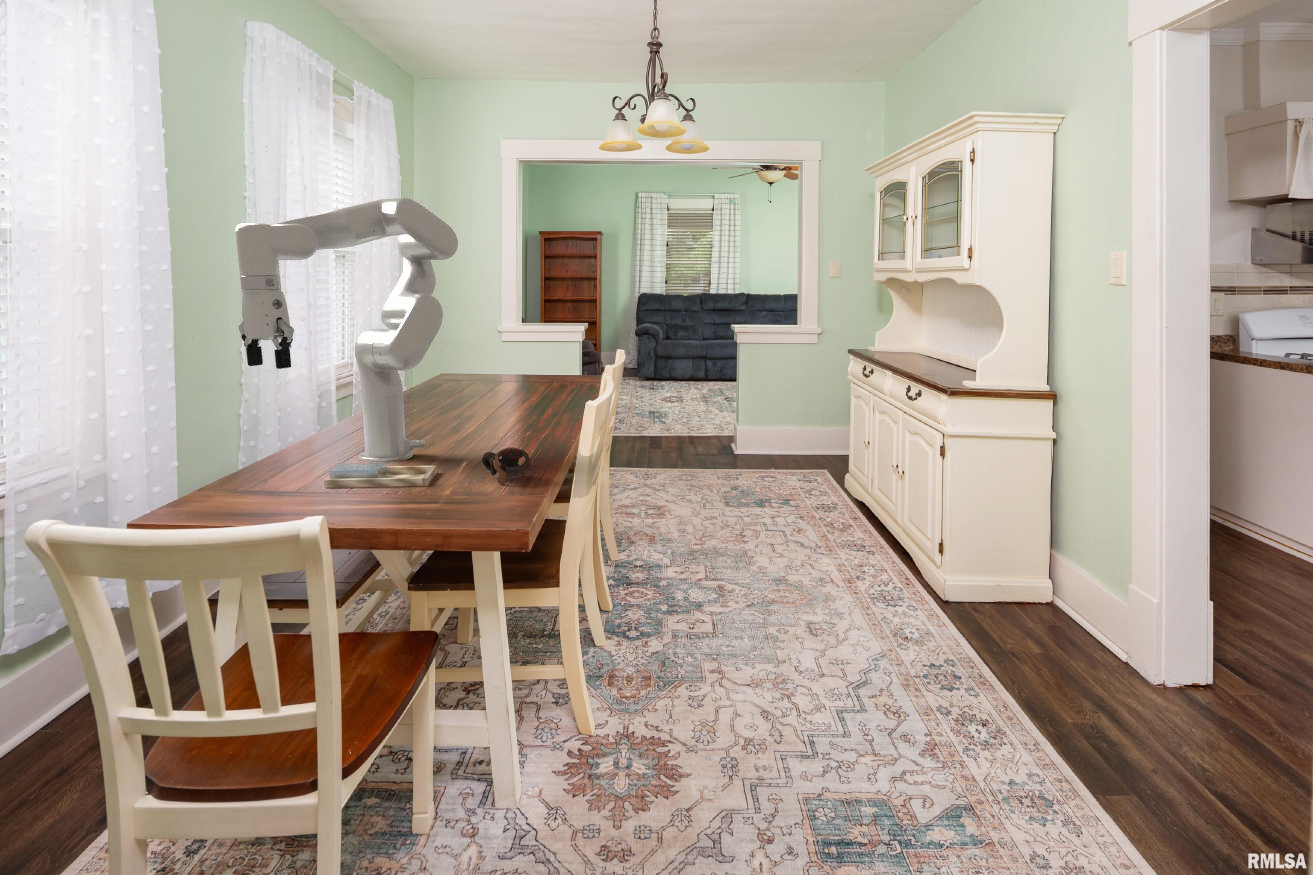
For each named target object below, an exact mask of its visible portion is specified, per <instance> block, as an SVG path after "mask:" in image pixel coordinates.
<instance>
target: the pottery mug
mask: <svg viewBox="0 0 1313 875" xmlns="http://www.w3.org/2000/svg"><path fill="white" fill-rule="evenodd" d="M523 457H524V459H525V460H524V462H523V463H522V464H519V462H520V461H519V460H520V459H522V458H523ZM481 462H482V464H483V466H484V467H485V469H487V470H488V471H490V472H489V473H490V475H491V476H496V475H497V473H498V475H497V478H496V480H497V483H498V484H500V485H502V486H504V485H505V483H506V482H510V481H513V480H517V479H519V478H523V477H524V476H525V475H526V474H528V473H529V472H530V471H533V470H534V468H533V466H532V463H530V462H531V459H530V456H529V454H528V452H526V451H525V450H524V449H522V448H518V447H514V446H512V447H509V446H508V447H506V448H505V447H504V448H502V449H500V450H499V451H498V452H496V453H495V452H493V451H487V452H484V454H482V457H481Z"/></svg>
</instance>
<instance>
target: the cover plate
mask: <svg viewBox="0 0 1313 875" xmlns="http://www.w3.org/2000/svg"><path fill="white" fill-rule="evenodd" d="M386 466H387V463H386V462H356V463H355V462H353V463H352V462H351V463H347V462H345V463H338V464H336V465H335V466H334V467H332V468H331V469H330V470H329V479H353V478H385V477H386Z"/></svg>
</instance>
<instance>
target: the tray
mask: <svg viewBox="0 0 1313 875" xmlns="http://www.w3.org/2000/svg"><path fill="white" fill-rule="evenodd" d="M437 466H438V465H396V466H395V465H394V466H393V465H391V466H390V465H389V466H387V465H386V477H385V478H353V479H330V478H324V480H323V484H324V485H323V487H324V489H331V488H332V489H334V488H335V489H336V488H379V487H380V488H381V487H384V488H386V487H389V488H391V487H394V488H395V487H428V486H429V485H430V483H431V481H432V480H433V478H434V477H435V476H436V475H437V472H438V469H437Z"/></svg>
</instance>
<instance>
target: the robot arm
mask: <svg viewBox="0 0 1313 875" xmlns="http://www.w3.org/2000/svg"><path fill="white" fill-rule="evenodd" d="M455 232H456V231H454V229H453V228H452V226H450V225H449V224H448V223H447V222H445V221H443V219H441V218H440V217H439V216H437V215H435V214H434V213H433V212H431V211H430V210H429V209H427V208H426V207H425V206H423V205H422V204H420V203H418V202H417V201H416V200H413V199H411V198H408V197H398V198H397V197H395V198H382V199H377V200H373V201H368V202H364V203H359V204H355V205H352V206H347V207H341V208H339V209H338V208H337V209H333V210H328V211H325V212H321V213H317V214H313V215H308V216H304V217H298V218H293V219H290V220H285V221H280V222H277V223H271V224H267V223H253V222H252V223H240V224H238V225H236V226H235V241H236V242H235V243H236V251H237V259H238V260H237V261H238V271H239V279H240V290H241V293H242V295H241V314H242V315H241V317H242V321H241V323H240V324H239V325H238V330H239V333H240V335H241V336H240V337H241V339H242V341H243V346H244V348H245V352H246V361H247V362H246V363H247V366H248V367H255V366H262V365H263V364H264V362H263V361H264V360H263V351H262V346H261V345H260V343H261V341H262V340H264V341H271V342H272V343H273V345H274V347H275V348H276V349H274V360H275V369H277V370H281V369H289V368H292V359H291V358H292V357H291V348H292V343H293V342H294V338H293V337H294V333H295V329H294V327H293V326H291V324H290V323H291V322H290V321H291V320H290V317H289V316H290V315H289V311H288V310H289V309H288V306H287V301H286V297H285V294H284V292H283V291H282V283H281V281H282V280H281V272H280V263H279V261H302V260H307V259H310V258H311V257H313V256H314V255H315V254H316V252H317V251H321V250H336V249H337V250H338V249H345V248H351V247H356V246H359V245H363V244H365V243H369V242H372V241H377V240H378V241H379V240H381V239H384V238H388V237H392V236H397V237H398V238H397V248H398V251H399V254H400V258H401V262H402V272H401V275H400V277H399V278H398V281H397V283H396V285H395V286H394V288H393V289H392V291H391V293H390V295H389V296H388V298H387V300H386V301H385V303H383V304H384V305H383V306H382V309H381V312H380V318H381V321H382V324H383V325H384V326H385V327H386V328H371V329H367V330H365V331H363V332H362V333H360V334H359V336H358V337H357V338H356V340H355V343H354V357H355V360H356V364H357V368H358V373H359V377H360V378H359V379H360V388H361V389H360V390H361V404H362V408H361V409H362V418H363V419H362V420H363V421H362V423H363V437H364V450H365V451H363V452H361V453H359V454H358V459H359V461H362V462H363V461H365V462H376V463H379V462H393V461H406V460H409V459H411V458H412V457H413V455H414V454H413V450H414V449H422V448H423V449H425V448H426V440H425V439H420V440H418V439H409V438H407V437H406V430H405V428H406V427H405V426H406V425H405V408H404V389H403V388H404V387H403V383H402V378H401V376H400V373H399V372H401V371H403V372H404V371H405V372H406V371H411V370H413V369H415V368H416V367H417V366H419V364H420V363H421V362H422V360H424V358H425V356H426V354H427V352H428V350H429V349H430V348H431V345H432V344H433V341H434V339H435V338H436V336H437V334H438V333H439V332H440V329H441V326H442V324H443V318H444V317H443V316H444V310H443V308H442V304H441V303H440V301H439V300H438V299H437V298H436V297H435V296H433V293H434V291H435V288H436V285H437V283H436V282H437V281H436V280H437V279H436V274H435V271H434V270H435V269H434V267H433V264H432V261H445V260H448V259H451V258H452V257H454V255H455V254H456V253H457V250H458V246H459V241H458V240H459V239H458V236H457V233H455Z"/></svg>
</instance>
